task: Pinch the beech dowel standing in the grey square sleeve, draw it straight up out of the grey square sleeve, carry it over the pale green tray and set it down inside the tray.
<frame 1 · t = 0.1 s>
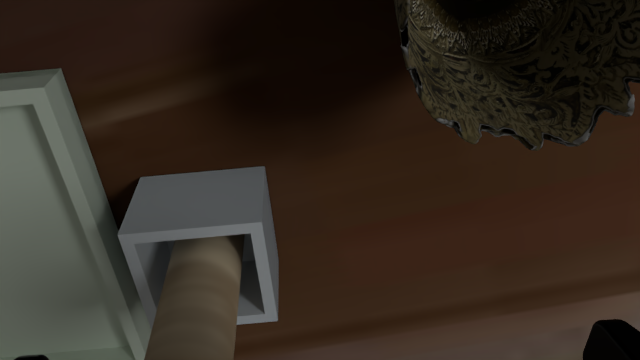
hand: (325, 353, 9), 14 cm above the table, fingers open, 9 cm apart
tray: (11, 238, 25), on the table
grey square sleeve: (213, 220, 25), on the table
dowel: (201, 289, 22), in the grey square sleeve
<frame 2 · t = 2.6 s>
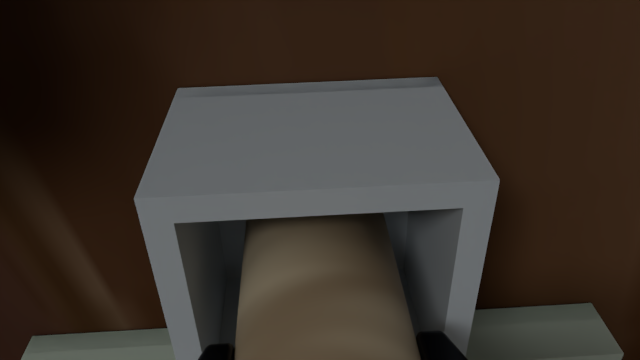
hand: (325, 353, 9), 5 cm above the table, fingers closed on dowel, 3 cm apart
grey square sleeve: (312, 189, 13), on the table
dowel: (324, 338, 9), in the grey square sleeve, touching gripper
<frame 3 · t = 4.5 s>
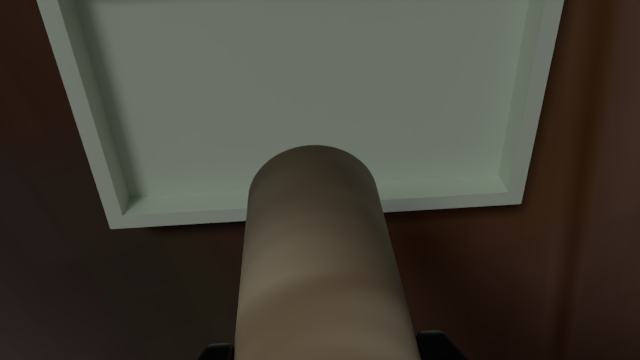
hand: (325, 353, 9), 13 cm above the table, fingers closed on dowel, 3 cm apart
tray: (309, 77, 20), on the table
dowel: (324, 338, 9), point 12 cm above the table, touching gripper
when the fingers open (6 cm above the table, at t = 6.4 s): dowel stays where it is, resting on tray.
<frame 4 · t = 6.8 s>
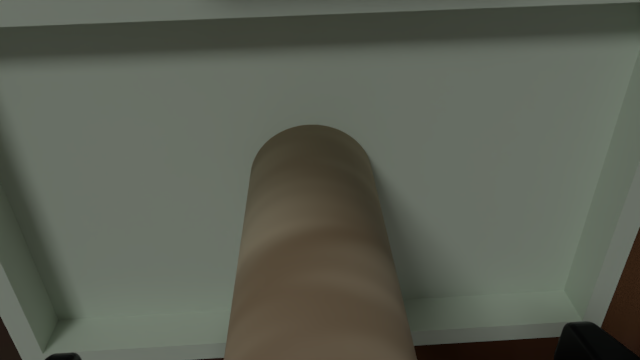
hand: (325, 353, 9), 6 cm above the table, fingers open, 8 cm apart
tray: (309, 166, 14), on the table
dowel: (316, 293, 10), in the tray, point 5 cm above the table
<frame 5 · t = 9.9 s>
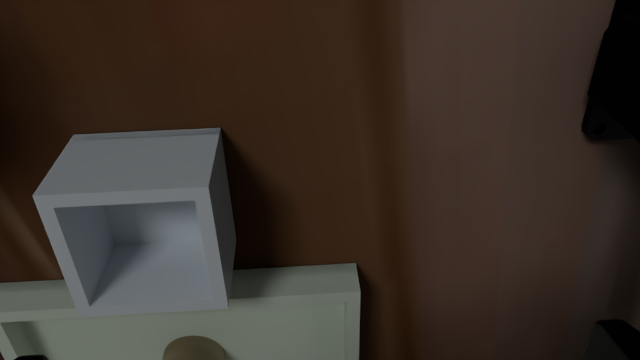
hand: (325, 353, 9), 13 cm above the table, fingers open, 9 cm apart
tray: (196, 346, 27), on the table
grey square sleeve: (160, 191, 22), on the table
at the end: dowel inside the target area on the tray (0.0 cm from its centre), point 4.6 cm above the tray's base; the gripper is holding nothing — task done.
